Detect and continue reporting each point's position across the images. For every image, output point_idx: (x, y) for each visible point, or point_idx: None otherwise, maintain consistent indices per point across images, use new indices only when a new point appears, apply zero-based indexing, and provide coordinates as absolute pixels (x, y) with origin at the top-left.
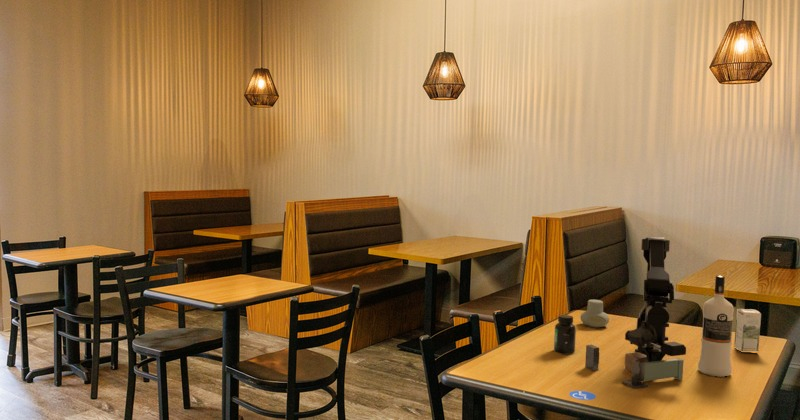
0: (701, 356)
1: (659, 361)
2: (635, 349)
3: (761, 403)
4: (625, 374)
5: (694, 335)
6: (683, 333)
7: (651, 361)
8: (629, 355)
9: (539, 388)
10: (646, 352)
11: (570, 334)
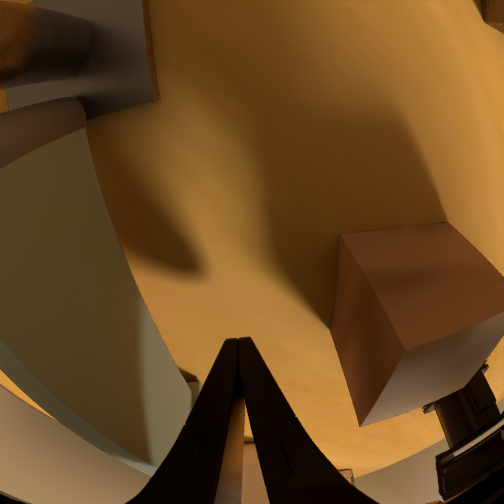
0: (262, 489)
1: (95, 438)
2: (487, 368)
3: (15, 396)
4: (370, 133)
5: (425, 442)
6: (441, 434)
7: (224, 414)
8: (494, 312)
9: None
10: (309, 491)
11: None
